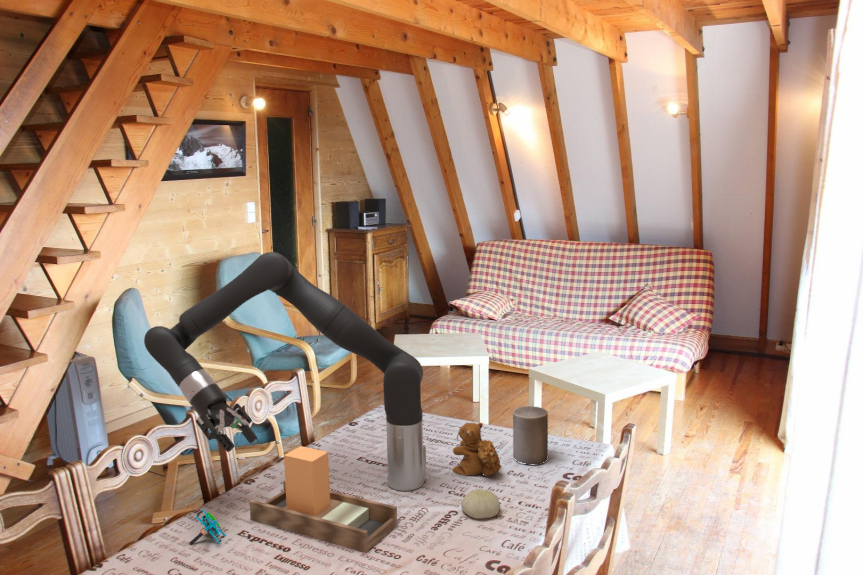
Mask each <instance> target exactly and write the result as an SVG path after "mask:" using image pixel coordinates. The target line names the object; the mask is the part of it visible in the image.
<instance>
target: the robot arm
mask: <svg viewBox="0 0 863 575" xmlns="http://www.w3.org/2000/svg"><path fill="white" fill-rule="evenodd" d="M291 263H292V262H290V261H289V259H288V258H286V257H285V256H283V255H282V254H280V253H279V252H275V251H270V252H269V251H268V252H264V253H262V254H260V255H259V256H258V257H257V258H255V260H253V262H252V263H251V264H250V265H248V266H247V267H246V268H245V269H244V270H243V271H242V272H240V274H238V276H236V277H234V278H233V279H232V280H231V281H230V282H228V283H227V284H225V285H224V286H222V287H221V288H220V289H218V290H216V291H215V292H213V293H211V294H210V295H208V296H207V297H205V298H204V299H202V300H200V301H198V302H197V303H196V304H194V305H193V306H191V307H189V308H188V309H187V310H185V311H183V312H182V313H181V314H180V316H179V318H178V319H179V320H178V323H176V324H175V325H174V326H173V327H171V328H169V327H166V326H164V325H163V326H162V325H158V326H157V325H156V326H153V327H151V328H149V329H148V330H147V331H146V333H145V335H144V337H143V338H144V339H143V342H144V343H143V344H144V347H145V349H146V352H148V353H149V354H150V356H151V357H152V358H153V359H154V360H155V361H156V362H157V363H158V364H159V365H160V366H161V367H162V368H163V369H164V370H165V371H166V372H167V373H168V374H169V376H170V377H171V379H172V380H173V382H174V383H175V384H176V385H177V387H178V388H179V390H180V391H181V393H182V395H183V396H184V398H185V399H186V401H187V402H188V403H189V405H190V406H191V407H192V409H193V410H194V411H195V412H196V413H197V415H198V417H197V419H196V420H195V423H196V424H197V426H198V427H199V428H200V429H199V430H201V432H202V433H203V434H204V436H205V437H206V439H207V440H208V441H212V440H214V441H218V443H219V444H220V446H221V447H222V448H223V449H224V450H225V451H226V452H227V453H229V452H231V451H233V449H234V448H235V444H234V442H233V441H232V439H231V438H230V437H229V436H228V435H227V434H226V433H225V428H231V429H237V430H238V431H240V432H241V434H242V435H243V437H244V438H245V439H246V441H247V442H248V443H249V444H252V443H254V442H255V441H256V440H257V437H258V436H257V435H256V433H255V432H254V431H253V430H252V428H251V427H250V425H251V423H252V422H253V420H252V418H251V417H250V416H249V415H248V414H247V412H246V411H245V410H244V408H243V407H242V406H241V405H240V404H239V403H235V404H234V405H233V406H231V405H229V404H228V403H227V400H228V398H227V395H226V394H225V392H224V391H223V390H222V389H221V388H220V387H219V385H218V384H217V382H216V381H215V380H214V379H213V377H212V376H211V375H210V374H209V373H208V372H207V371H206V370H205V369H204V367H203V366H202V365H201V364H200V362H199V361H198V360H197V358H195V356H193V355H192V354H190V353H189V352H187V351H186V350H187V349H188V348H189V347H190V346H191V345H192V344H194V342H195V341H196V340H197V339H198V338H199V337H201V336H202V335H204V334H205V333H207V332H208V331H209V330H211V329H213V328H215V327H217V325H219V324H220V323H222V321H224V320H225V319H226V318H228V317H229V316H230V315H231V314H232V313H234V312H235V311H236V310H237V309H238V308H239V307H241V306H242V305H243V304H245V303H247V302H248V301H250V300H251V299H252V298H254V297H256V296H258V295H260V294H262V293H265V292H267V291H270V292H272V293H274V294H276V295H277V296H279V297H280V298H281V299H283V300H285V301H286V302H288V303H290V305H291V306H293V307H294V308H296V310H298V311H299V312H300V314H302V316H303V317H304V318H305V319H306V320H307V321H308V322H309V323H310V324H311V325H312V326H313V327H314V328H315V329H316V330H317V331H318V332H320V333H321V335H323V336H324V337H325V338H327V339H328V340H330V342H332V343H334V344H335V345H337V346H338V347H340V348H342V349H343V350H345V351H347V352H350V353H351V354H355V355H356V356H359V357H362V358H364V359H366V360H367V361H369V362H370V363H371V364H373V365H374V366H375V367H376V368H377V369H378V370H379V371H381V372H382V373H383V386H382V387H383V399H384V400H383V405H384V412H385V417H386V418H385V419H386V420H385V422H386V423H385V424H386V426H385V427H386V456H387V457H386V459H387V461H386V462H387V464H386V465H387V485H388V486H389V488H391V489H393V490H395V491H396V490H397V491H403V492H405V491H406V492H407V491H412V490H413V491H414V490H417V489H419V488H421V487H422V486H423V485H424V482H426V481H427V452H426V451H427V448H426V445H424V433H423V432H424V430H423V429H424V427H423V426H424V424H423V423H424V422H423V420H424V419H423V409H422V408H423V407H422V398H421V397H422V394H421V391H422V390H421V383H422V380H423V376H424V369H423V367H422V365H421V362H420V361H419V360H418V359H417V358H416V357H414V356H413V355H412V354H410V353H408V352H407V351H405V350H403V349H401V348H400V347H398V346H397V345H396V344H394V343H393V342H391V341H389V340H388V339H387V338H385V336H383V335H382V334H380V333H379V331H377V330H376V329H375V328H374V327H373V326H372V325H370V324H369V323H368V322H367V321H365V320H364V319H363V318H361V317H360V316H359V315H358V314H357V313H355V311H353V310H352V309H351V308H350V307H348V306H347V305H346V304H345V303H343V302H342V301H340V300H339V299H337V298H336V297H334V296H333V295H331V294H329V293H328V292H326V291H324V290H323V289H321V288H319V287H317V285H314V284H313V283H312V282H310V281H309V280H308V279H307V278H306V277H305V276H304V275H303V274H301V273H300V272H299V271H298V270H297V269H296V267H295V266H293V264H291ZM243 418H244V419H243ZM209 430H210V431H209Z"/></svg>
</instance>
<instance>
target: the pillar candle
mask: <svg viewBox="0 0 863 575" xmlns="http://www.w3.org/2000/svg"><path fill="white" fill-rule="evenodd" d="M548 414H549V413H548V410H546V409H545V408H543V407H540V406H534V405H533V406H531V405H530V406H520V407H517V408H516V407H515V408H514V409H513V410H512V449H513V452H512V453H513V454H512V455H513V456H512V457H514V458H515V459H516V460H517V461H519V462H522V463H526V464H539V465H541V464H540V463H543V462H545V461H546V460H547V456H549V455H548V453H549V452H548V451H549V449H548V448H549V445H548V444H549V443H548V442H549V440H548V439H549V438H548V436H549V435H548V434H549V431H548V429H549V427H548V424H549V418H548V417H549V415H548ZM514 458H513V459H514ZM547 461H548V460H547ZM545 463H546V462H545ZM543 464H544V463H543Z"/></svg>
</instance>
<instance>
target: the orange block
mask: <svg viewBox="0 0 863 575" xmlns="http://www.w3.org/2000/svg"><path fill="white" fill-rule="evenodd" d="M283 460H284V461H283V463H284V479H285V485H286V505H287V509H291V510H294V511H298V512H302V513H305V514H309V515H313V516H315V515H317V514H318V513H319V512H321V511H322V510H324V509H325V508H326V507H328V506H329V505H330V491H331V488H330V487H331V486H330V464H329V462H330V461H329V451H325V450H320V449H316V448H311V447H306V446H301V445H300V446H299V447H296V448H294V449H292V450H291V451H288V453H286V454H285V453H284V455H283Z"/></svg>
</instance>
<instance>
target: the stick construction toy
mask: <svg viewBox="0 0 863 575" xmlns="http://www.w3.org/2000/svg"><path fill="white" fill-rule="evenodd" d="M202 513H203V514H204V515H203V516H201V514H202ZM199 516H201V518H200V517H199ZM195 518H196V519H197V520H198V522H200V523H201V525H202V526H203V527H202V528H201V529H200V533H198V534H197V535H196V536H195V537H194V538H193V539H191V540H189V543H188V544H189V545H190V546H192V545H193V544H195V543H196V542H197V541H198V540H199V539H200V538H202V537H203V536H204V537H205V536H206V535H207V534H208V533H209V534H210V535H211V536H212V538H213V539H214V540H215V541H216V543H218V544H220V543H221V542H222V541H223V540H222V539H223V538H225V537H226V534H225V532H224V531H223V530H221V526H220V523H219V522H218V520H217V519H216V518H215V516H214V515H213V514H211V513H210V512H209V511H207V512H206V510H205V509H204V508H203V509H201V510H200V511H199V513H198V514H197V515H195ZM221 535H222V536H221ZM220 536H221V538H222V539H219V537H220Z"/></svg>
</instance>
